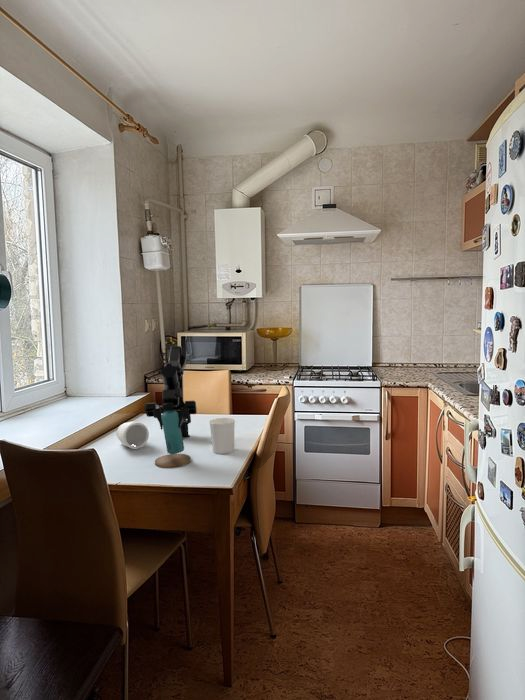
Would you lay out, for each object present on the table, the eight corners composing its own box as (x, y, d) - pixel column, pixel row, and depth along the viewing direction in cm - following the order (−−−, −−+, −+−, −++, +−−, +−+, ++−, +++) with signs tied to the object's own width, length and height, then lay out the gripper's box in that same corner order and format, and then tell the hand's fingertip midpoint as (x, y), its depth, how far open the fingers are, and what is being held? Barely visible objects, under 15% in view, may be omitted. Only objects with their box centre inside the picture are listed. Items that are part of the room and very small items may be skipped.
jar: (126, 449, 201) (136, 454, 189) (108, 434, 198) (117, 438, 185) (143, 430, 206) (154, 433, 193) (125, 415, 202) (136, 417, 189)
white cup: (226, 456, 177) (224, 425, 176) (206, 452, 183) (204, 422, 181) (240, 448, 186) (239, 419, 184) (221, 445, 191) (219, 416, 190)
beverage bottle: (188, 451, 175) (179, 399, 173) (179, 458, 169) (169, 404, 167) (174, 451, 178) (165, 400, 175) (164, 458, 172) (154, 405, 169)
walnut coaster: (182, 453, 182) (182, 451, 182) (196, 462, 171) (196, 460, 171) (150, 460, 175) (150, 458, 175) (162, 470, 164) (161, 467, 164)
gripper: (143, 382, 173) (140, 418, 164) (194, 379, 175) (194, 415, 165) (148, 398, 182) (145, 434, 172) (196, 395, 184) (196, 430, 174)
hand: (170, 428), depth 171 cm, fingers closed on beverage bottle, 6 cm apart
